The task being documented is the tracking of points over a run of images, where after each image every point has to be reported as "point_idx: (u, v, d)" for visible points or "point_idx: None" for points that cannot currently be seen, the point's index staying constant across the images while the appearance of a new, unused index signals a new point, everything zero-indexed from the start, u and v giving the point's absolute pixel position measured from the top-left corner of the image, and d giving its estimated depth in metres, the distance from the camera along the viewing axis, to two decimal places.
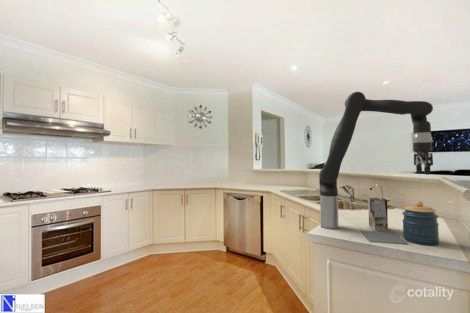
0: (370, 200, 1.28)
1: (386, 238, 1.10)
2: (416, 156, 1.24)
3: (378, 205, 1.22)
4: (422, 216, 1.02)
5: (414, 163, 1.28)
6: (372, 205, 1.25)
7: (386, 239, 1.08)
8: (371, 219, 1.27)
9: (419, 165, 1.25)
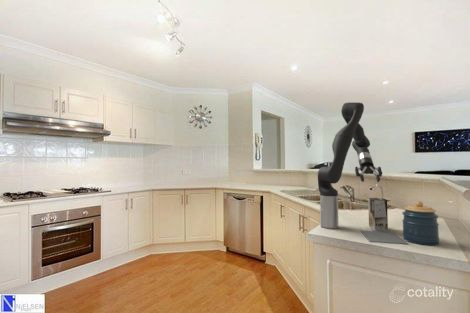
0: (370, 200, 1.28)
1: (386, 238, 1.10)
2: (364, 167, 1.44)
3: (378, 205, 1.22)
4: (422, 216, 1.02)
5: (358, 172, 1.43)
6: (372, 205, 1.25)
7: (386, 239, 1.08)
8: (371, 219, 1.27)
9: None
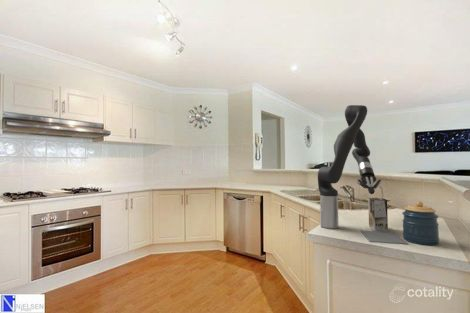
0: (370, 200, 1.28)
1: (386, 238, 1.10)
2: (365, 178, 1.42)
3: (378, 205, 1.22)
4: (422, 216, 1.02)
5: (365, 184, 1.40)
6: (372, 205, 1.25)
7: (386, 239, 1.08)
8: (371, 219, 1.27)
9: None
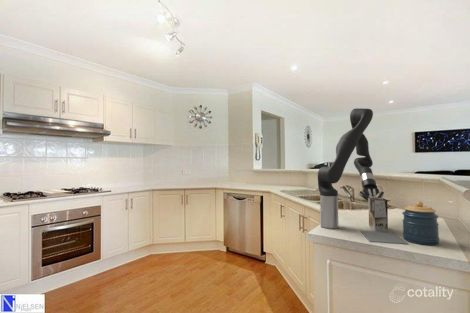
0: (370, 200, 1.27)
1: (386, 238, 1.10)
2: (368, 190, 1.37)
3: (378, 205, 1.22)
4: (422, 216, 1.02)
5: (367, 197, 1.34)
6: (372, 205, 1.25)
7: (386, 239, 1.08)
8: (371, 218, 1.27)
9: None
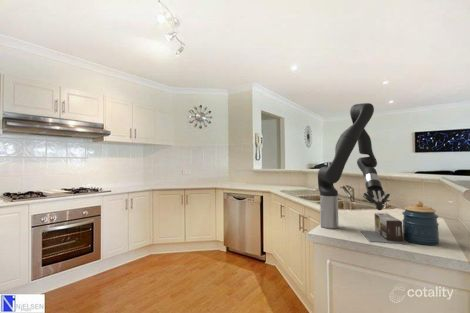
0: (385, 229, 1.08)
1: None
2: (372, 191, 1.28)
3: None
4: (422, 216, 1.02)
5: (372, 199, 1.26)
6: (384, 232, 1.10)
7: None
8: (378, 224, 1.17)
9: None
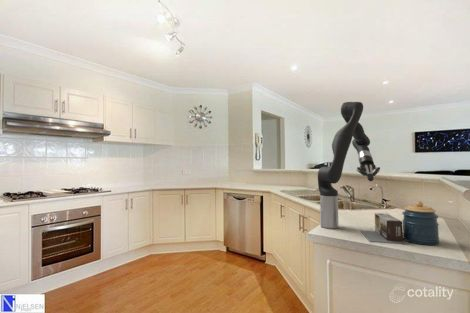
0: (386, 228, 1.08)
1: None
2: (365, 165, 1.44)
3: None
4: (422, 216, 1.02)
5: (364, 172, 1.41)
6: (384, 232, 1.10)
7: None
8: (378, 223, 1.17)
9: None
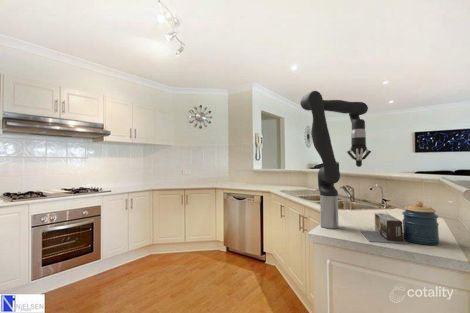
0: (386, 228, 1.08)
1: None
2: (356, 150, 1.39)
3: None
4: (422, 216, 1.02)
5: (354, 157, 1.40)
6: (384, 232, 1.10)
7: None
8: (378, 223, 1.17)
9: None
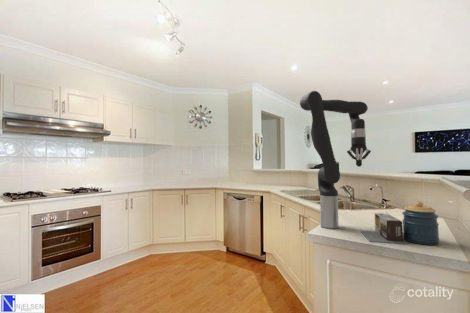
0: (386, 228, 1.08)
1: None
2: (356, 150, 1.39)
3: None
4: (422, 216, 1.02)
5: (354, 157, 1.40)
6: (384, 232, 1.10)
7: None
8: (378, 223, 1.17)
9: None
